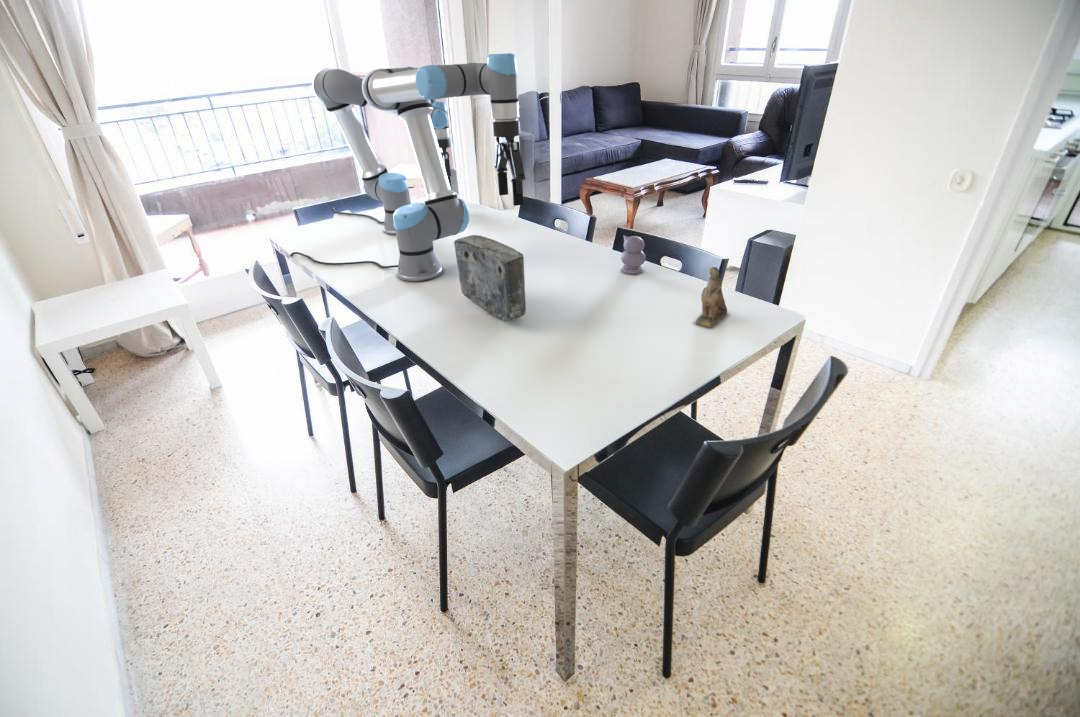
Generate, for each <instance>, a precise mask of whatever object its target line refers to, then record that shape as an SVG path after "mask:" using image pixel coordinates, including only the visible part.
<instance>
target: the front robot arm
mask: <svg viewBox="0 0 1080 717" xmlns="http://www.w3.org/2000/svg"><path fill="white" fill-rule="evenodd" d="M486 57H487V58H486V62H469V63H454V64H428V65H422V66H419V67H413V66H407V67H395V68H377V69H374V70H371V71H369V72H368V73H367V74H366V75H364V77H363V78H362V79H363V82H362V92H363V95H364V97H365V99H366V101H367V102H368V103H369V104H370V105H372V106H373V107H375V108H374V109H376V108H377V109H376V110H379V109H380V110H379V111H382V110H397V113H398V116H397V117H398V118H399V119H400V120H402V121H403V122H404V124H405V127H406V130H407V133H408V137H409V140H410V144H411V146H412V150H413V152H414V158H415V160H416V164H417V166H418V170H419V173H420V178H421V180H422V184H423V187H424V190H425V193H426V197H425V198H424V201H423V202H414V203H411V204H408V205H405V206H402V207H400V208H398V209H397V210H396V211H395V212H394V214H393V221H394V228H395V232H396V235H395V236H396V242H397V247H398V251H399V259H398V264H396V265H395V264H394V265H381V264H380V263H379V262H376V261H373V260H361V261H353V262H352V261H348V262H325V261H319V260H316V259H314V258H313V257H311V256H310V255H307V254H304V253H303V252H299V251H294V252H291V254H290V255H289V257H292V256H294V255H300V256H302V257H305V258H308V259H309V260H311V262H314V263H316V264H320V265H327V266H329V265H330V266H343V265H344V266H345V265H359V264H373V265H376V266H378V267H379V268H381V269H391V268H397V276H398V278H399V279H400V280H402V281H406V282H413V283H414V282H425V281H429V280H432V279H435V278H438V277H439V276H440V275H441V274H442V273H443V268H442V264H441V263H440V260H439V259H438V256H437V254H436V252H435V250H434V243H433V242H434V241H437V240H441V239H444V238H448V237H451V236H457V235H458V234H461V233H463V232H464V231H466V230H467V228H468V225H469V222H470V210H469V208H468V206H467V205H468V204H467V203H465V201H464V200H463V199H462V198H459V197H458V194H457V193H455V192H454V191H452V190H451V188H450V184H449V181H448V177H447V174H446V170H445V167H444V163H443V160H442V156H441V153H440V149H439V145H438V142H437V138H436V135H435V131H434V128H433V124H432V121H431V117H430V115H431V113H432V111H433V107H432V105H433V104H434V102H435V101H436V100H440V99H448V98H456V97H468V96H469V97H470V96H471V97H472V96H482V95H487V96H489V98H490V100H489V101H490V103H489V104H490V116H491V117H490V118H491V119H492V123H491V125H492V126H491V127H492V136H494V137H495V153H494V169H495V170H496V172H497V184H498V196H507V195H509V184H508V183H509V182H508V171H509V170H510V173H511V176H512V177H511V180H510V182H511V186H512V188H511V189H512V204H513V206H514V207H516V206H517V207H518V206H524V192H523V191H524V190H523V189H524V188H523V181H524V180H525V181H526V174H525V169H524V164H523V159H522V155H521V147H520V146H521V145H520V141H515V137H518V136H520V134H521V122H520V120H519V118H520V109H521V105H519V85H518V84H519V81H518V80H519V78H518V74H519V71H518V66H517V64H518V63H517V57H516V55H515V54H514V53H511V52H510V53H509V52H508V53H507V52H506V53H490V54H488V55H487V56H486ZM373 107H372V108H373ZM507 165H508V167H509V170H508V168H507Z"/></svg>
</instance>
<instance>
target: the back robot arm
mask: <svg viewBox="0 0 1080 717" xmlns="http://www.w3.org/2000/svg"><path fill="white" fill-rule="evenodd" d="M363 79H364V78H363V77H360V76H358V75H356V74H353V73H351V72H349V71H347V70H344V69H341V68H323V69H320V70H318V71H316V73H315V74H314V75H313V77H312V80H311V87H312V90H313V94H314V95H315V96H316V98H317V99H318V100H320V101H321V102H322V103H323V105H324V107H325V109H326V111H327V112H328V113H330V114H332V115H333V116H334V118H335V121H336V122H337V124H338V126H339V128H340V130H341V133H342V134H343V136H344V138H345V140H346V142H347V144H348V147H349V148H350V150H351V152H352V154H353V157H354V158H355V161H356V162H357V164H358V166H359V168H360V171H361V173H360V178H361V180H362V187H363V191H364V192H365V194H366V195H367V196H368V197H369V198H371V199H373V200H375V201H378V202H381V203H382V204H383V210H384V220H383V221H380V220H379V219H377V218H376V217H374V216H371V215H368V214H362V213H353V212H344V211H343V212H342V211H338V210H336V208H335V207H333V208H332V210H333V212H334V213H335V214H340V215H348V216H359V217H366V218H370V219H372V220H374V221H376V222H377V223H379V224H383V231H384V233H385V234H387V235H395V236H396V232H395V228H394V221H393V214H394V212H395V211H396V210H397V209H398V208H400V207H402V206H405V205H408V204H412V202H411V195H410V190H409V182H408V179H407V177H406V176H405V175H404V174H403V173H399V172H389V171H388V169H387V167H386V165H385V164H382V163H380V162H381V161H380V160H379V158H378V157H377V154H376V152H375V150H374V148H373V146H372V143H371V141H370V139H369V137H368V135H367V133H366V131H365V128H364V126H363V124H362V122H361V119H360V118H359V115H358V114H357V111H356V109H355V107H354V106H355V105H356V106H359V107H361V108H365V107H370V108H373V109H376V110H379V111H382V112H385V113H388V114H391V115H394V116H397V117H399V116H398V113H397V110H380V109H377V108H375V107H373V106H372V105H370V104H369V103H368V102H367V101H366V99H365V97H364V95H363V92H362V82H363ZM432 107H433V111H432V113H431V115H430V117H431V121H432V124H433V128H434V131H435V135H436V138H437V142H438V145H439V149H440V153H441V156H442V160H443V163H444V167H445V170H446V174H447V173H448V174H447V177H448V181H449V184H450V188H451V179H450V176H451V171H450V169H451V163H450V154H449V151H448V150H447V149H448V148H451V139H450V133H451V130H450V128H449V127H450V126H449V117H448V107H447V104H446V101H442V100H439V101H438V100H437V101H436V100H435V102H434V104H433V105H432ZM451 190H452V189H451Z"/></svg>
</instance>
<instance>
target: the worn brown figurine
mask: <svg viewBox="0 0 1080 717" xmlns="http://www.w3.org/2000/svg"><path fill="white" fill-rule="evenodd" d="M708 273H709V275H710V276H709V278H708V279H707V280H708V281H707V284H706V286H705V287H704V288H703V290H702V292H701V297H700V298H701V309H702V312H701V315H700V316H699V317H698V318H697V319H696V321H695V324H696V325H699V326H703V327H705V328H712V327H714V326H715V325H716V324H717V323H719V321H721V320H722V319H723V318H725V317H726V316H727V315H728V307H727V304H726V301H725V298H724V293H723V290H722V287H723V281H722V279H721V278H720V270H719V269H718V268H717V267H715V266H712V267H711V268H710V269H709V270H708Z"/></svg>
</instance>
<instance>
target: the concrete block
mask: <svg viewBox="0 0 1080 717" xmlns="http://www.w3.org/2000/svg"><path fill="white" fill-rule="evenodd" d="M453 244H454V250H455V257H456V264H457V265H456V266H457V272H458V280H459V284H460V290H461V294H462V295H463V296H464V297H466V298H467V299H468V300H470V301H471V302H473V304H475V305H477V306H478V307H480V308H482V310H484V311H485V312H486V313H488V314H490V315H492V316H493V317H494V318H497V319H499V320H502V321H504V322H512V321H514V320H517V319H519V318H521V317H523V316H525V315H526V314H527V305H526V304H527V303H526V282H525V281H526V279H525V258H524V254H523V253H522V252H520V251H518V250H517V249H515V248H513V247H511V246H509V245H507V244H505V243H503V242H500V241H497V240H495V239H492V238H489V237H486V236H483V235H477V234H472V235H467V236H463V237H460V238H457V239H455V240H454V242H453Z"/></svg>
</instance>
